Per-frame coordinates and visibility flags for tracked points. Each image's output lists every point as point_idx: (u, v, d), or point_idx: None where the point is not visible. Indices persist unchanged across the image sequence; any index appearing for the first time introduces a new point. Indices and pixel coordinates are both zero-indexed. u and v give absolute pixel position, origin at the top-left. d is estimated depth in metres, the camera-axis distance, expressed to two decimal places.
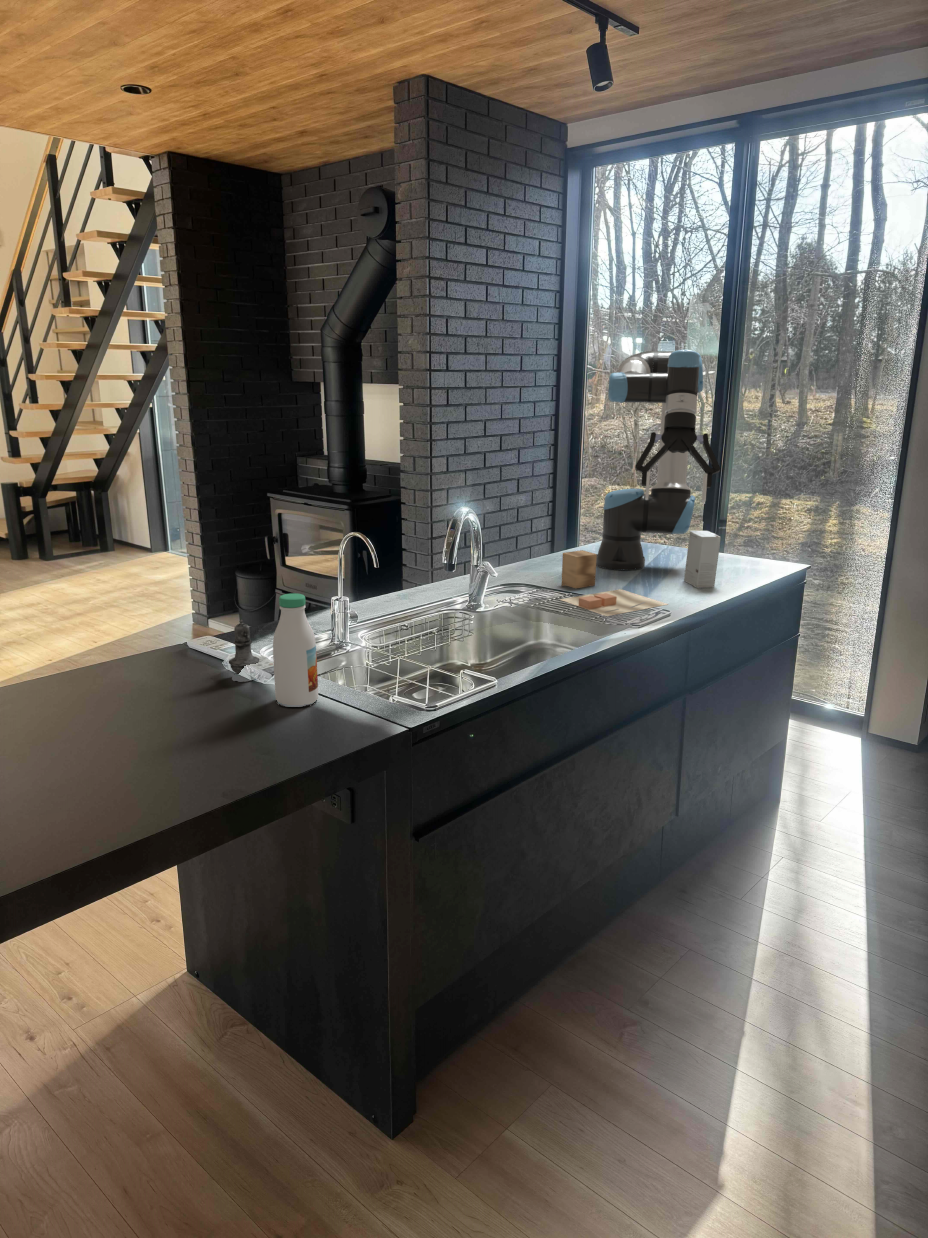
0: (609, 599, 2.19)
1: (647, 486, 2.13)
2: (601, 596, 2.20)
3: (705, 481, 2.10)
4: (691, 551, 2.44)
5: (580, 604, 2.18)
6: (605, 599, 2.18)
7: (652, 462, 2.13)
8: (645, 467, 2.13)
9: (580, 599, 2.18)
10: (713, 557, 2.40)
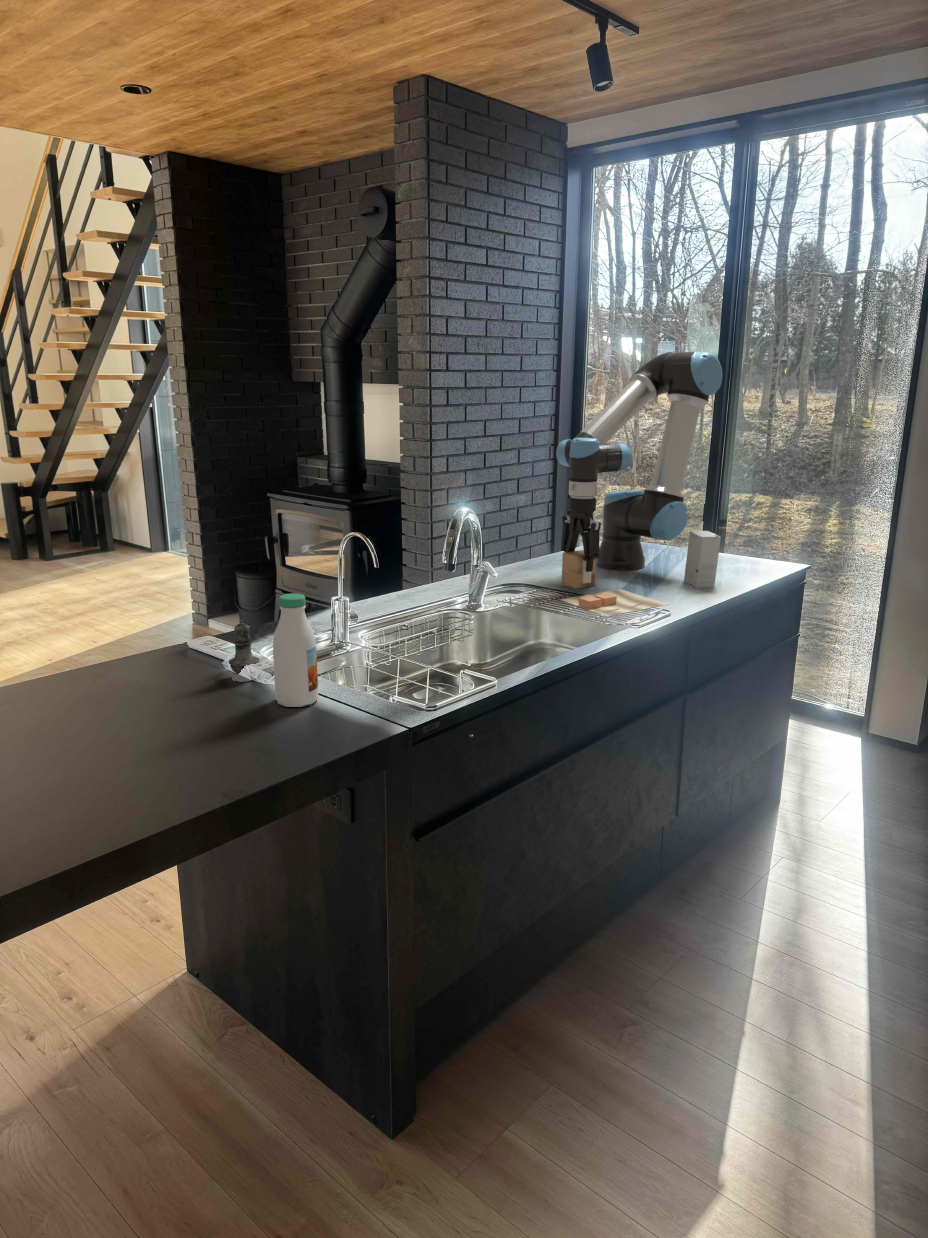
0: (609, 599, 2.19)
1: None
2: (601, 596, 2.20)
3: (583, 567, 2.35)
4: (691, 551, 2.44)
5: (580, 604, 2.18)
6: (605, 599, 2.18)
7: (568, 545, 2.39)
8: (566, 550, 2.40)
9: (580, 599, 2.18)
10: (713, 557, 2.40)
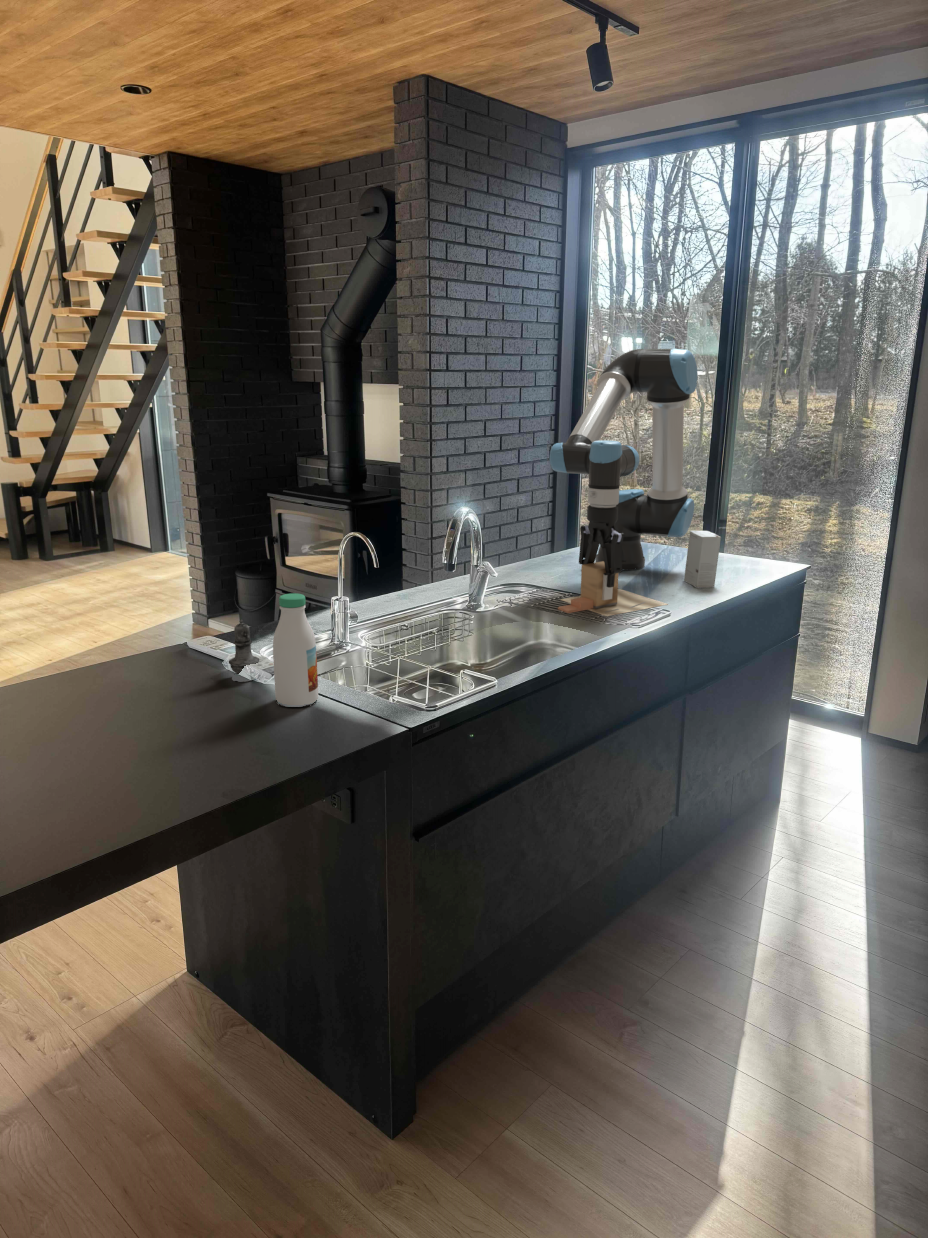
0: (586, 603, 2.15)
1: None
2: (578, 600, 2.16)
3: (604, 582, 2.14)
4: (691, 551, 2.44)
5: None
6: (582, 603, 2.14)
7: (587, 558, 2.18)
8: None
9: (559, 608, 2.15)
10: (713, 557, 2.40)
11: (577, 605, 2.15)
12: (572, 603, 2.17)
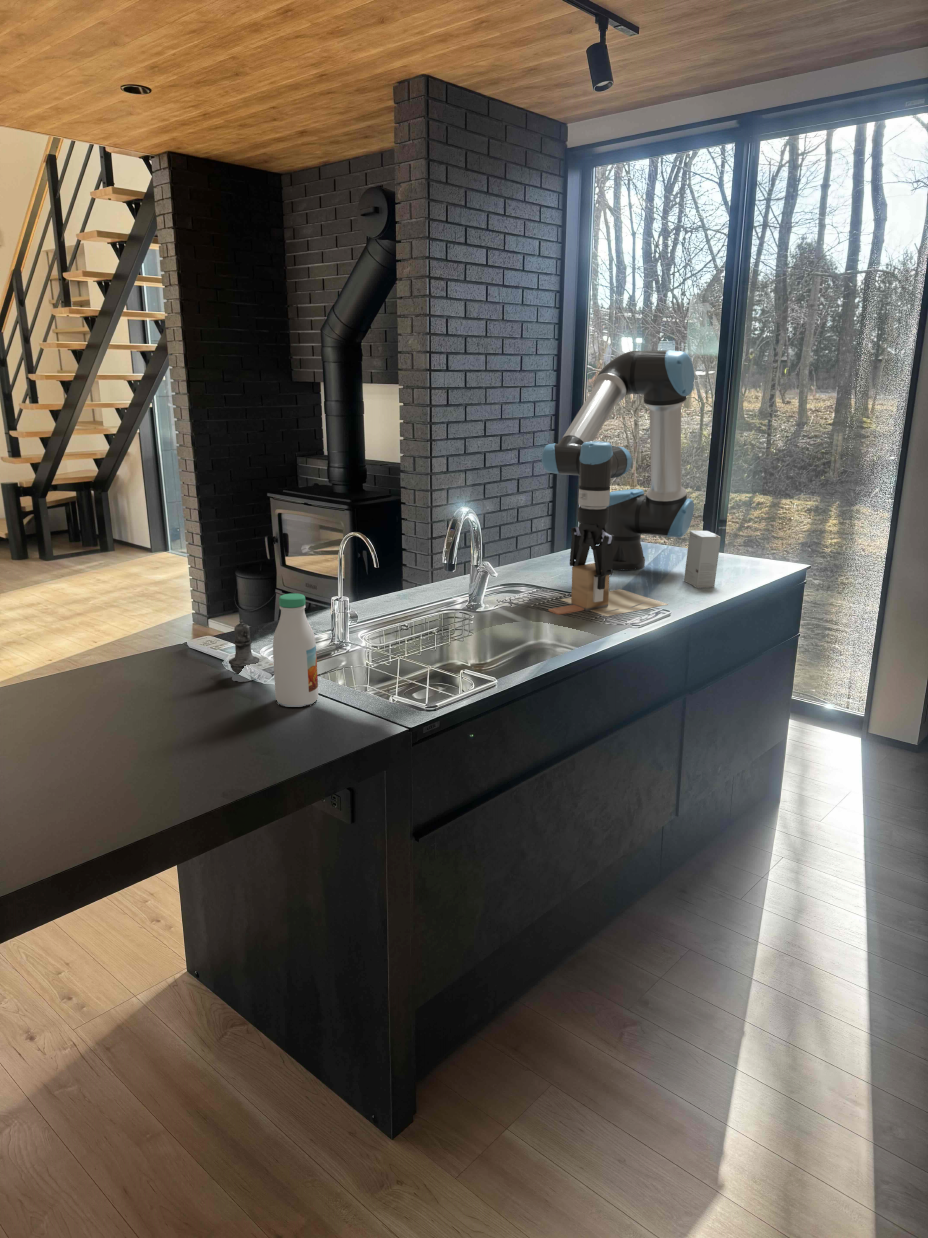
0: (576, 611, 2.14)
1: None
2: (568, 608, 2.15)
3: (594, 584, 2.13)
4: (691, 551, 2.44)
5: None
6: (572, 611, 2.13)
7: (578, 559, 2.17)
8: None
9: (550, 611, 2.13)
10: (713, 557, 2.40)
11: None
12: None
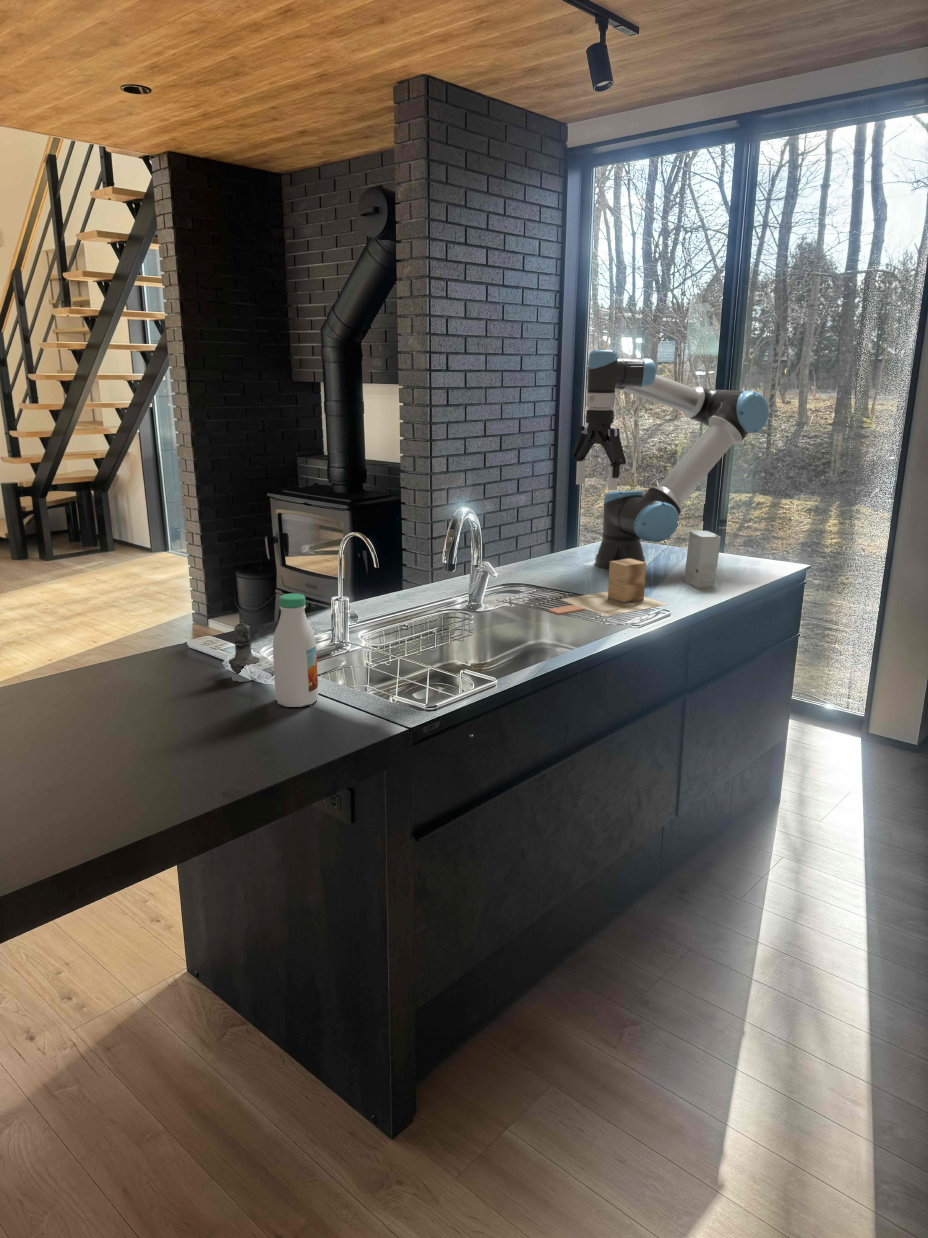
0: (576, 611, 2.14)
1: (577, 474, 2.47)
2: (568, 608, 2.15)
3: (609, 473, 2.35)
4: (691, 551, 2.44)
5: None
6: (572, 611, 2.13)
7: (580, 453, 2.45)
8: (576, 457, 2.46)
9: (550, 611, 2.14)
10: (713, 557, 2.40)
11: None
12: None
